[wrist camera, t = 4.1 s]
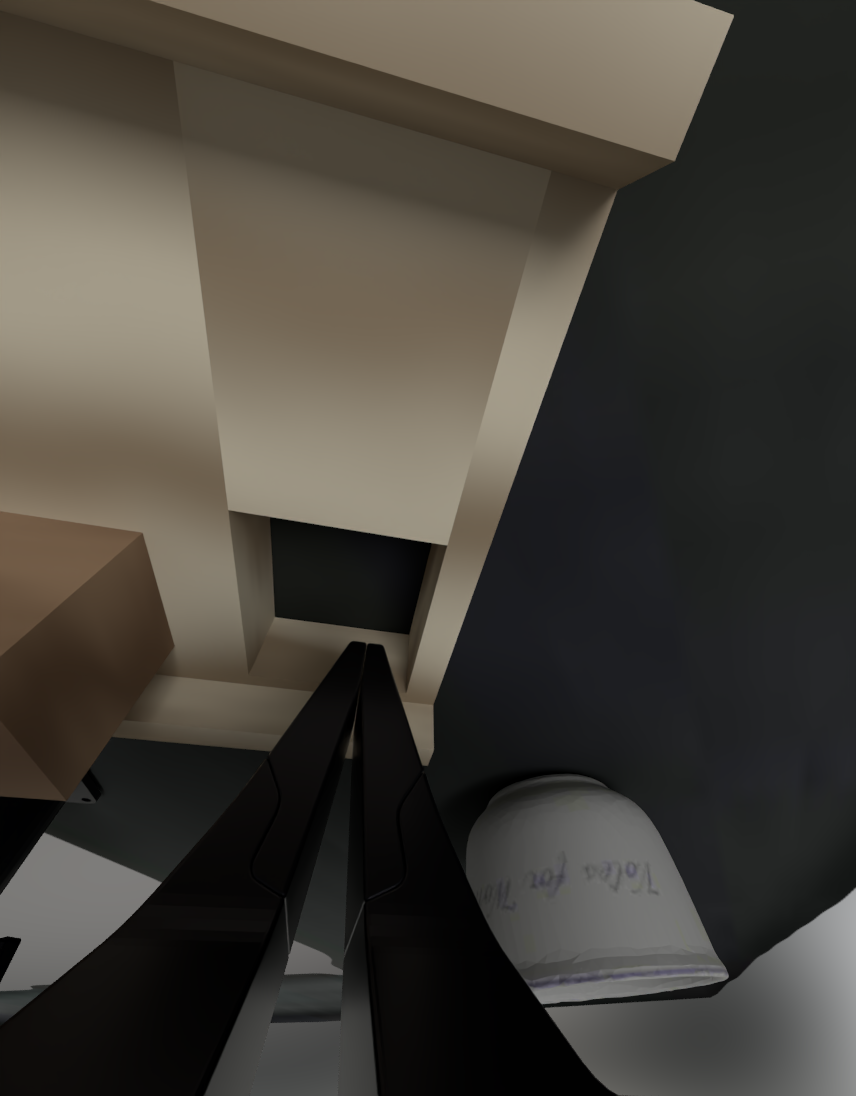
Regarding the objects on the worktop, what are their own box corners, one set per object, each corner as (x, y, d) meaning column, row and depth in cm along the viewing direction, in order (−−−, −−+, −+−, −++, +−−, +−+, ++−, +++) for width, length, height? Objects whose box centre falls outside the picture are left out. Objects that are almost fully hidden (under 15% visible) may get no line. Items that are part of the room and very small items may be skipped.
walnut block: (174, 646, 11) (66, 800, 8) (23, 628, 10) (-162, 784, 7) (142, 532, 9) (-32, 683, 5) (-53, 503, 8) (-374, 648, 5)
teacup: (620, 730, 18) (727, 976, 12) (657, 810, 24) (744, 1008, 17) (381, 791, 22) (363, 1003, 16) (461, 848, 28) (471, 1022, 21)
